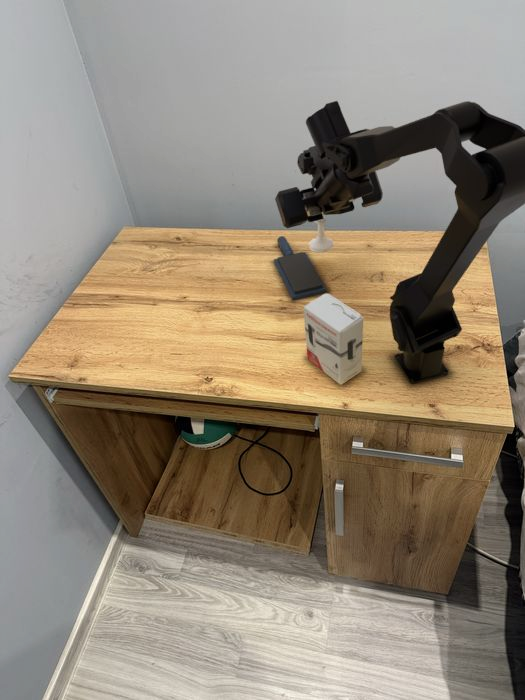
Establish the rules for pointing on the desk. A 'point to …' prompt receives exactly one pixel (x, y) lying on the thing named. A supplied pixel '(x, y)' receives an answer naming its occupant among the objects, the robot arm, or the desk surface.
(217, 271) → the desk surface
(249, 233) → the desk surface
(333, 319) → the ink box
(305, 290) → the scrub brush
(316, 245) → the chess piece
